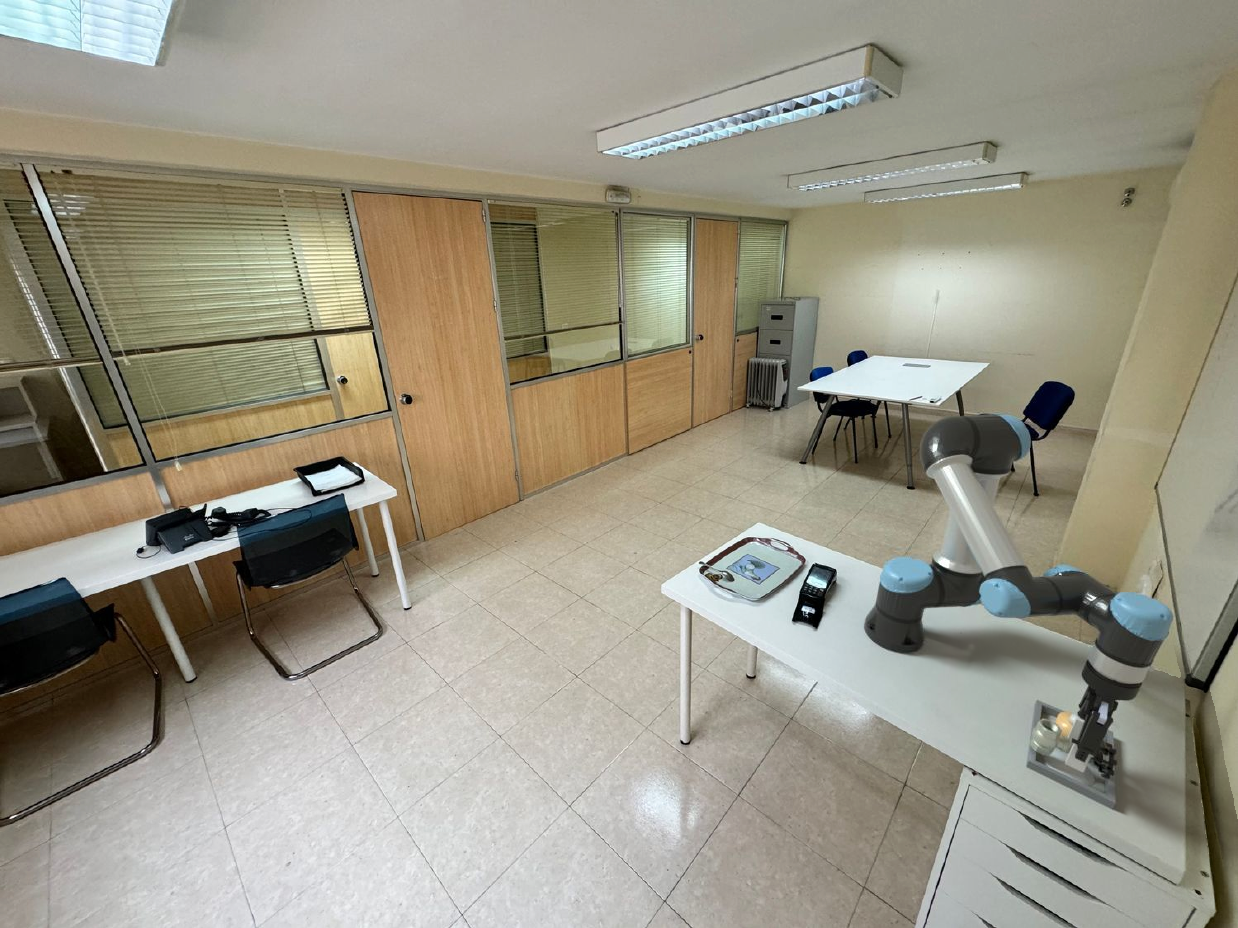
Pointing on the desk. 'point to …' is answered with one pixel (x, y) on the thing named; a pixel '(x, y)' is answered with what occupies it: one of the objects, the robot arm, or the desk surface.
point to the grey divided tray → (1065, 773)
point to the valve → (1069, 746)
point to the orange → (1065, 722)
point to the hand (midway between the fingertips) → (1074, 754)
